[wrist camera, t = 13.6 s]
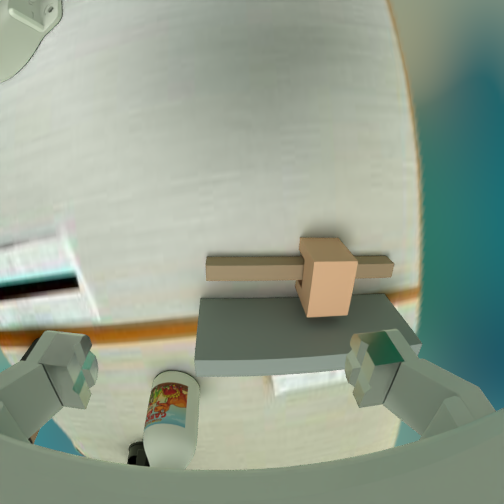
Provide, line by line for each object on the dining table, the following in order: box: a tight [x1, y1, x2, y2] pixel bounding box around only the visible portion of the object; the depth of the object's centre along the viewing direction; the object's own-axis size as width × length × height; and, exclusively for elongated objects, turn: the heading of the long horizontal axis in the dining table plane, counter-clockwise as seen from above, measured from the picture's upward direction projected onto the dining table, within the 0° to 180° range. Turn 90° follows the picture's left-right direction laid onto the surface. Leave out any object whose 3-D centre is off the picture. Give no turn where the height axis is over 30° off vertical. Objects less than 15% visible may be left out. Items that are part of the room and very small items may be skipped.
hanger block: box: [295, 237, 358, 317], centre depth 38 cm, size 7×5×7 cm
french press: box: [127, 442, 150, 467], centre depth 46 cm, size 12×9×23 cm
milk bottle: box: [143, 371, 200, 469], centre depth 39 cm, size 8×8×20 cm
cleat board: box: [194, 256, 422, 377], centre depth 37 cm, size 8×26×12 cm, turn 88°
